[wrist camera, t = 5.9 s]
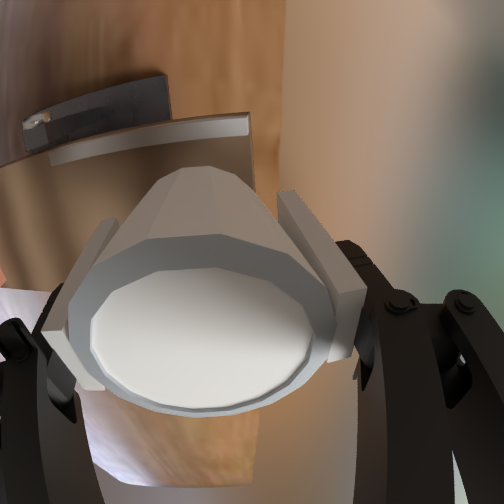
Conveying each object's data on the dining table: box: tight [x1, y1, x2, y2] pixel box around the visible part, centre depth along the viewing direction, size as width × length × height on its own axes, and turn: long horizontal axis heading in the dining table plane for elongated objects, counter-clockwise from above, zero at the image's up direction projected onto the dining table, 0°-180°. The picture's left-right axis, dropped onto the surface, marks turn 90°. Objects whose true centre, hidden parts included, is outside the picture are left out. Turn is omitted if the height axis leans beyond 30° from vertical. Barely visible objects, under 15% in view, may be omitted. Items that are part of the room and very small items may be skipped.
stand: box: [22, 75, 173, 154], centre depth 23 cm, size 16×18×13 cm
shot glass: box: [68, 166, 337, 417], centre depth 10 cm, size 7×7×7 cm
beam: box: [0, 112, 256, 292], centre depth 17 cm, size 28×11×4 cm, turn 94°
